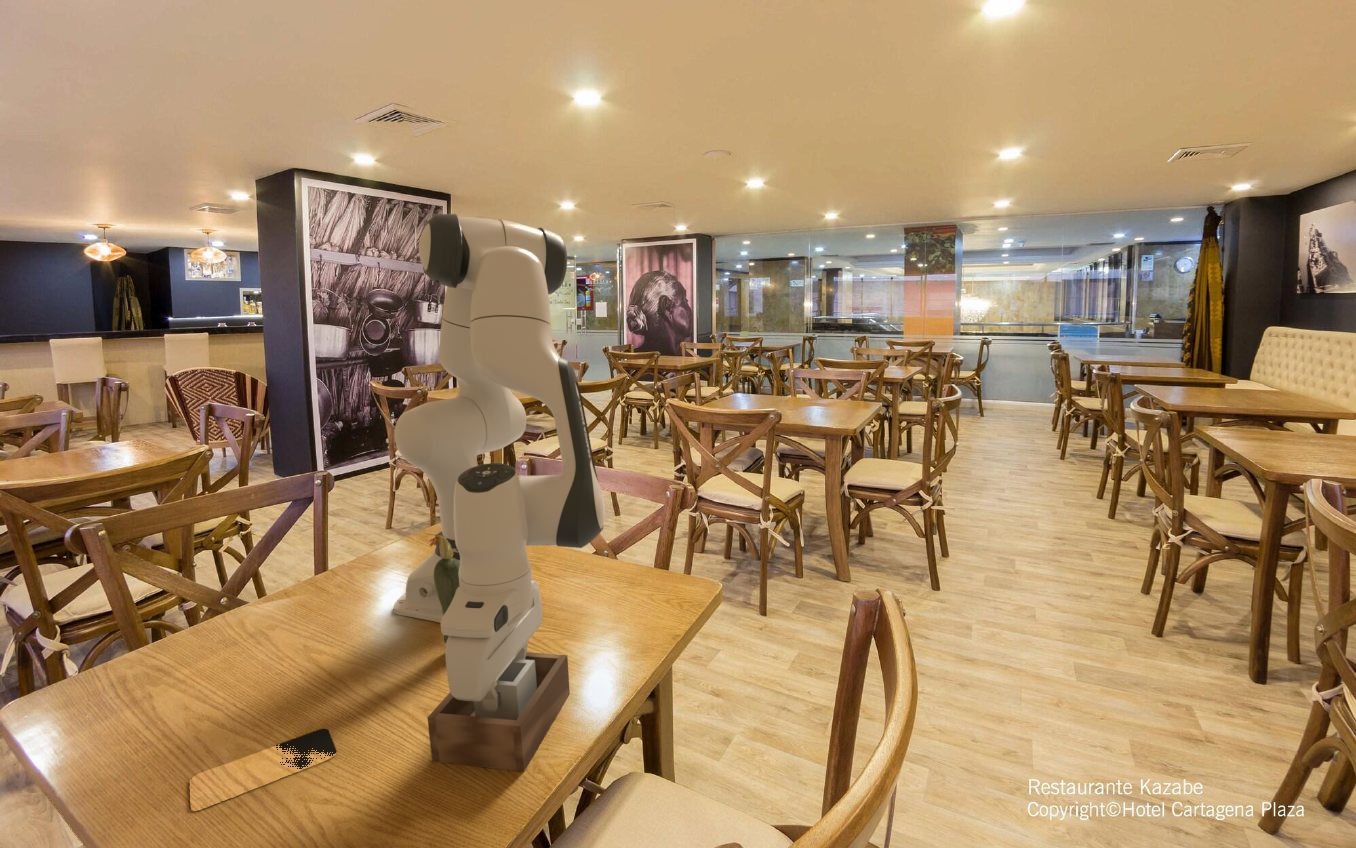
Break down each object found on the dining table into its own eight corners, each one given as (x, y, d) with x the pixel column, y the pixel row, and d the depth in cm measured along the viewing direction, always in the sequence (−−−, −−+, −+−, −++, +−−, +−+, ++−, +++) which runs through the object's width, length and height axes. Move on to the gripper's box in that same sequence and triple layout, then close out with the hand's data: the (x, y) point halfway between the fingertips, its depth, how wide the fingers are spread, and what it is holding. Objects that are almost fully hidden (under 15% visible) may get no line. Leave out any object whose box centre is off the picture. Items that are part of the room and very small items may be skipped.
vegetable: (476, 649, 107) (465, 531, 104) (459, 663, 103) (447, 541, 100) (453, 645, 109) (442, 529, 105) (435, 658, 105) (423, 538, 101)
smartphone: (338, 754, 82) (190, 812, 73) (338, 759, 82) (191, 817, 74) (327, 726, 88) (188, 776, 79) (327, 730, 88) (189, 781, 79)
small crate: (475, 717, 85) (471, 682, 84) (496, 690, 91) (492, 657, 90) (519, 721, 84) (516, 685, 83) (537, 694, 90) (534, 660, 89)
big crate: (432, 761, 81) (427, 717, 80) (491, 687, 96) (488, 649, 95) (524, 771, 79) (520, 726, 78) (569, 693, 94) (567, 655, 93)
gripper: (508, 560, 95) (515, 648, 97) (431, 629, 75) (443, 738, 78) (550, 562, 94) (556, 651, 96) (483, 632, 74) (493, 743, 76)
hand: (505, 691), depth 87 cm, fingers closed on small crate, 6 cm apart
